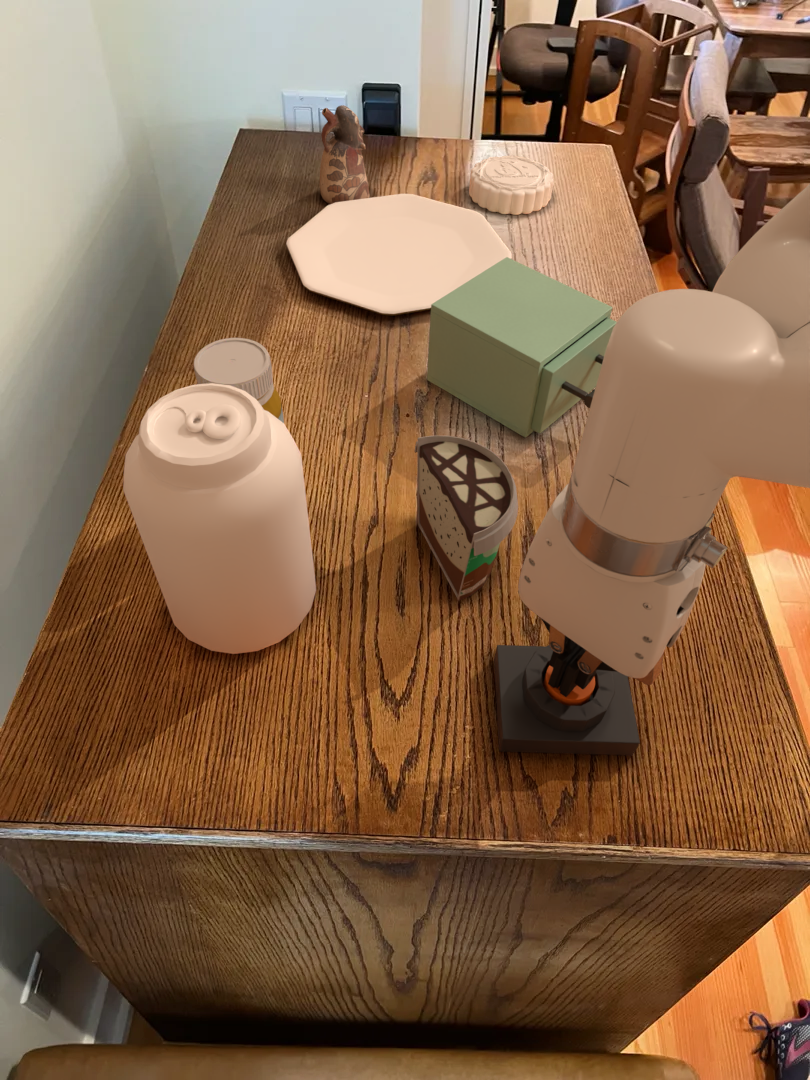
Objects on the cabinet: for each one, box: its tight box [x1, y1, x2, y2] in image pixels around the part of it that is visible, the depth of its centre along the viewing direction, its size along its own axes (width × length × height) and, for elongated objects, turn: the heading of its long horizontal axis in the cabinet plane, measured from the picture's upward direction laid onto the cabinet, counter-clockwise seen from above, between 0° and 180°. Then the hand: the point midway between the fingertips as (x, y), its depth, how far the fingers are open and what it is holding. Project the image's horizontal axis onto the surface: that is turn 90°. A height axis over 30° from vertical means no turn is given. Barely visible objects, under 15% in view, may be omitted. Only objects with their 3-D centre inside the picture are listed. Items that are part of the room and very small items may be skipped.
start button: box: [543, 665, 595, 706], centre depth 57 cm, size 4×4×2 cm
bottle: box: [193, 337, 285, 424], centre depth 68 cm, size 7×7×15 cm
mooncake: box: [468, 154, 555, 216], centre depth 111 cm, size 12×12×4 cm
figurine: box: [318, 104, 371, 205], centre depth 107 cm, size 7×7×12 cm
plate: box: [285, 193, 513, 317], centre depth 100 cm, size 28×28×2 cm
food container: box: [414, 434, 519, 602], centre depth 66 cm, size 12×6×10 cm, turn 22°
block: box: [493, 644, 641, 757], centre depth 58 cm, size 10×8×4 cm
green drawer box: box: [426, 257, 613, 439], centre depth 81 cm, size 14×13×10 cm
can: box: [122, 383, 317, 655], centre depth 58 cm, size 12×12×20 cm
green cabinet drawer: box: [531, 317, 617, 435], centre depth 80 cm, size 17×11×8 cm
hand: (568, 677), depth 56 cm, fingers closed
